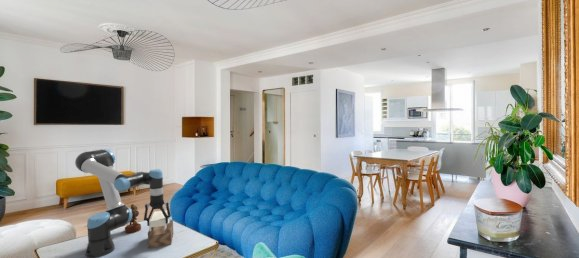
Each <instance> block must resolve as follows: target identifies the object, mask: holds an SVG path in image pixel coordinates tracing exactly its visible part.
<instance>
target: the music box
mask: <svg viewBox="0 0 579 258" xmlns="http://www.w3.org/2000/svg"><path fill="white" fill-rule="evenodd" d="M130 209H131V211H132V219H131V221H130V222H129V223H128V224H126V225H125V226H124V233H126V234H134V233H138V232H140V231H141V230H142V225H141V224H140V223H139V222H137V220H138V218H137V217H139V215H140V211H139V209H138V206H137V205H135V204H134V203H132V204H130Z"/></svg>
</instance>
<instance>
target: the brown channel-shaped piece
mask: <svg viewBox="0 0 579 258" xmlns="http://www.w3.org/2000/svg"><path fill="white" fill-rule="evenodd" d="M173 237H174V220H173V219H170V220H169V221H168V223H167V224H166V229H165V226H158V227H151V231H149V230H148V232H147V243H148V249H152V248H157V247H158V248H159V247H165V246H171V245H172V243H173V239H172V238H173Z"/></svg>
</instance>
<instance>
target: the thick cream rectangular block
mask: <svg viewBox="0 0 579 258" xmlns="http://www.w3.org/2000/svg"><path fill="white" fill-rule="evenodd" d="M164 210H165V209H164ZM165 212H166V214H167V215H168V213H167V209H166V210H165ZM164 219H165V217H164V215H163V213H162V211H161V210H157V211H156V210H155V211H153V213H152V215H151V217H150V227H158V226H164V225H165V224H164Z"/></svg>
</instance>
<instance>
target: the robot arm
mask: <svg viewBox="0 0 579 258" xmlns="http://www.w3.org/2000/svg"><path fill="white" fill-rule="evenodd" d="M115 162H116V156H115V154H114V153H113V151H112V150H110V149H105V148H104V149H95V150H91V151H89V150H88V151H83V152H82V153H80V154H78V155H77V157H76V159H75V162H74V164H75V167H76V168H77V169H78V170H79V171H81V172H83V173H84V174H91V175H92V176H95V177H97V178H98V181H99V184H100V187H101V191H102V195H103V199H104V200H105V204H106V209H105V211H102V212H98V213H95V214H93V215H91V216H90V217H89V218H87V222H86V223H87V225H86V228H87V241H88V242H87V245H86V249H85V253H84V254H85V257H86V256H87V258H99V257H103V256H106V255H108V254H110V253H112V252H114V250H115V249H116V248H115V243H114V241H113V238H112V235H111V231H113V230H117V229H119V228H121V227H125V226H127V225H129V224H130V221H131V219H132V209H131V207H129V206H127V205H126V204H125V203H123V201H122V198H121V195H120V192H123V191H127V190H130V189H133V188H135V187H139V186H143V185H149V195H150V196H149V201H150V202H149V203H145V204H144V208H145V210H144V215H143V221H147V222H146V225H147V226H148V231H151V227H150V220H151V218H152V216H153V213H154V210H159V211H162V213H163V215H164V217H165V219H164V224H165V225H164V226H165V229H166V224H167V223H169V218H171V216H172V215H171V210H170V206H169V205H170V201H165V200H164V181H163V180H164V179H163V178H164V176H163V170H162V169H160V168H159V169H157V168H156V169H151V170H149V172H147V171H146V172H145V171H137V172H135V173H134V174H131V175H127V174H124V173H122V172H119V171H118V170H115V169H113V168H114V164H115ZM164 205H165V208H166V210H167V214H166V212H165V209H164ZM149 207H151V210H150V212H149V215H148V211H149Z"/></svg>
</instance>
